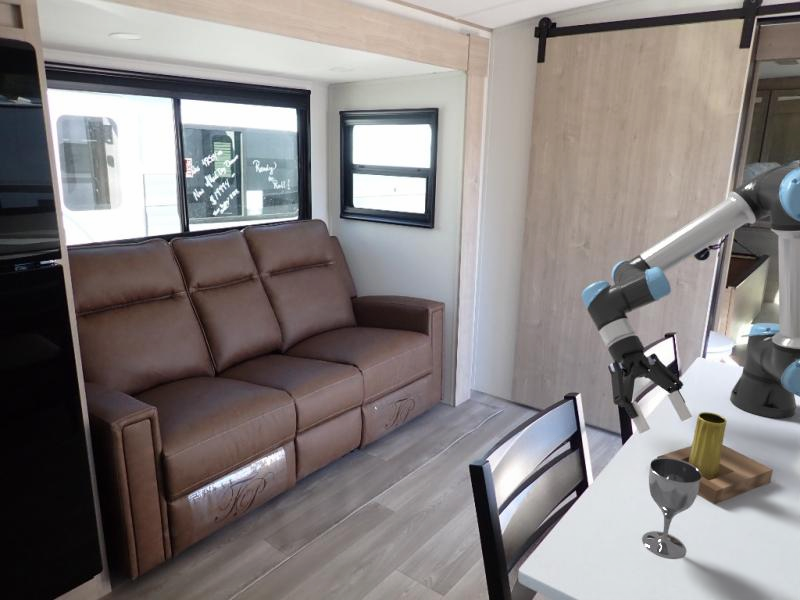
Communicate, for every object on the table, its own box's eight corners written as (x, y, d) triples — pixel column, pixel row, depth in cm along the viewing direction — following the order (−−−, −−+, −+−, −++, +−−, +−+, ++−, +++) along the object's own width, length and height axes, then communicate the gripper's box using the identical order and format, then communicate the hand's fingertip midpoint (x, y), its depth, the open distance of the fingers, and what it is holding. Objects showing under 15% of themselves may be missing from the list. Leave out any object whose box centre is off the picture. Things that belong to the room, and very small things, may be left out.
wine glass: (667, 565, 96) (680, 487, 92) (629, 537, 103) (640, 463, 99) (698, 551, 100) (712, 475, 96) (660, 525, 107) (671, 453, 103)
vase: (721, 488, 118) (733, 426, 114) (689, 484, 119) (700, 423, 116) (712, 472, 124) (723, 412, 120) (682, 469, 125) (691, 409, 121)
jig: (709, 450, 133) (711, 439, 132) (770, 482, 121) (772, 469, 120) (655, 468, 125) (657, 456, 124) (713, 504, 113) (716, 490, 112)
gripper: (648, 341, 146) (691, 419, 137) (573, 355, 135) (615, 442, 126) (668, 327, 140) (715, 408, 131) (592, 341, 129) (637, 430, 120)
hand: (666, 425), depth 129 cm, fingers open, 13 cm apart
